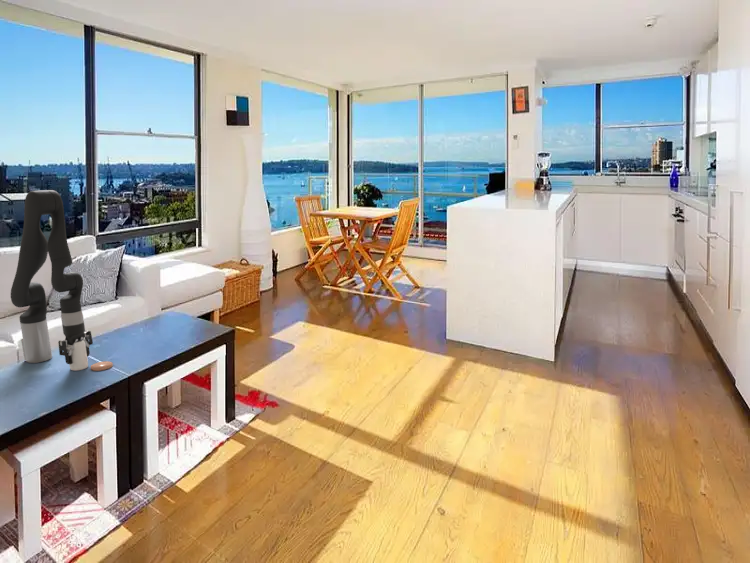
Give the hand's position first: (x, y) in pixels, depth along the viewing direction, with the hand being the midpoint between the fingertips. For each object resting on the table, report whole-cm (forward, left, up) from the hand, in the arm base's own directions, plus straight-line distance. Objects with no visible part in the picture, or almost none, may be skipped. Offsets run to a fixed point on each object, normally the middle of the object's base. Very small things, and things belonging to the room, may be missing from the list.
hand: (78, 359), depth 204 cm
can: (0, 0, -4) cm, 4 cm away
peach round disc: (+8, +3, -4) cm, 9 cm away
